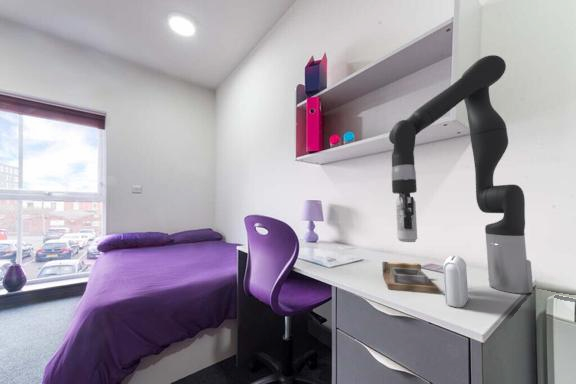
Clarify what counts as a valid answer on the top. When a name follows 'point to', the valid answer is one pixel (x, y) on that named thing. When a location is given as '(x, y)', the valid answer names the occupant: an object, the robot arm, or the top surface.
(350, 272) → the top surface
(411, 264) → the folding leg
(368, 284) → the top surface
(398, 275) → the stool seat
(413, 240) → the energy drink can
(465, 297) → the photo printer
